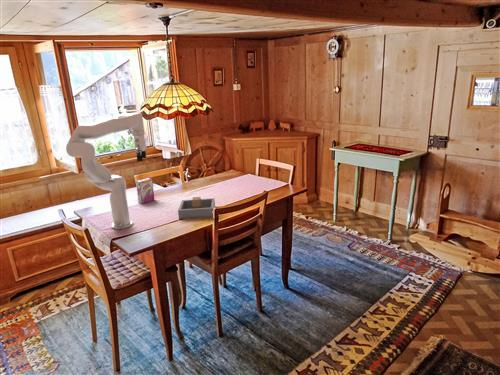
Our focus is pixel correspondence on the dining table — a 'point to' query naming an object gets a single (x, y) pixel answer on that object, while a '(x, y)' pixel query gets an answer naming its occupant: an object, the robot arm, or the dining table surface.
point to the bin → (190, 213)
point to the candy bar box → (145, 190)
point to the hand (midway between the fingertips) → (141, 159)
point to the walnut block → (196, 202)
